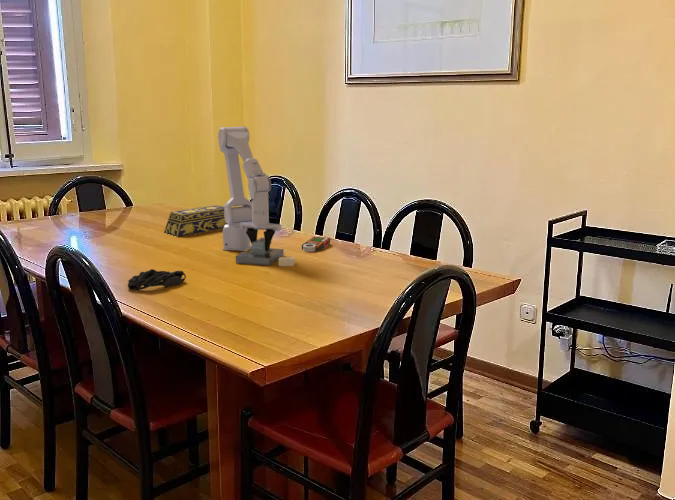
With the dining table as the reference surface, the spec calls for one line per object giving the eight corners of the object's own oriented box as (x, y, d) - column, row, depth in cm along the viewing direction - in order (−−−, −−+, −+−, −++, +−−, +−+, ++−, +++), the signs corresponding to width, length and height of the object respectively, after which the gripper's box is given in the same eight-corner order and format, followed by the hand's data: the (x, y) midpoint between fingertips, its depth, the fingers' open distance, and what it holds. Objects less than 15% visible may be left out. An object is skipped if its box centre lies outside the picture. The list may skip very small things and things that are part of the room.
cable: (138, 295, 189) (137, 280, 188) (116, 285, 199) (115, 271, 198) (190, 283, 200) (190, 269, 199) (167, 274, 210) (166, 261, 209)
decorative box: (237, 227, 283) (236, 206, 281) (177, 238, 262) (175, 216, 260) (222, 224, 290) (221, 203, 288) (162, 234, 269) (161, 212, 267)
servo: (250, 257, 225) (250, 241, 223) (261, 251, 233) (260, 235, 232) (261, 258, 224) (261, 242, 222) (271, 252, 232) (271, 236, 231)
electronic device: (299, 245, 239) (314, 235, 252) (299, 253, 240) (314, 242, 253) (316, 247, 237) (330, 236, 250) (316, 255, 238) (330, 244, 251)
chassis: (235, 263, 223) (235, 254, 222) (251, 253, 236) (251, 245, 235) (269, 265, 220) (269, 256, 219) (283, 255, 233) (283, 247, 232)
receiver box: (278, 266, 220) (278, 259, 219) (279, 263, 223) (279, 257, 223) (293, 266, 220) (293, 259, 219) (294, 263, 223) (294, 256, 223)
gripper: (235, 212, 223) (236, 251, 226) (276, 214, 219) (276, 254, 222) (243, 208, 230) (245, 246, 233) (283, 210, 226) (284, 249, 229)
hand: (261, 250), depth 228 cm, fingers closed on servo, 4 cm apart
